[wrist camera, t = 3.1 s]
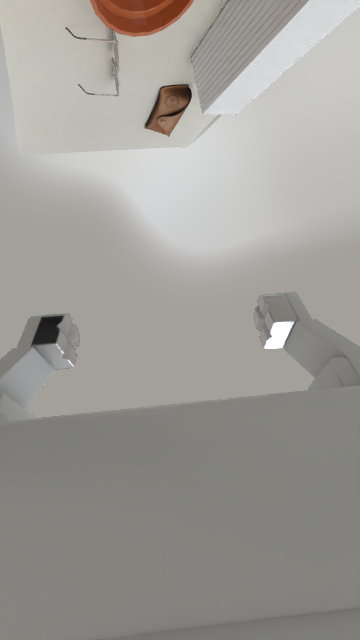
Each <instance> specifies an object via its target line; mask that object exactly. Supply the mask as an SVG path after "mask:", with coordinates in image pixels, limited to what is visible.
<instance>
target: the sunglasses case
mask: <svg viewBox="0 0 360 640" xmlns="http://www.w3.org/2000/svg"><path fill="white" fill-rule="evenodd" d="M191 97H192V93H191V89H190V88H189V87H188V86H187V85H172V86H167V87H163V88H161V90H160V93H159V97H158V100H157V102H156V105H155V107H154V109H153V112H152V114H151V116H150V118H149V120H148V122H147V124H146V127H145V129H150V130H153V131H156V132H159V133H162V134H165V135H168V137H169V136H170V133H171V132H172V130H173V129H174V127H175V126H176V124H177V123H178V121H179V120H180V118H181V116H182V115H183V113H184V111H185V109H186V108H187V106H188V105H189V103H190V101H191Z"/></svg>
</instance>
